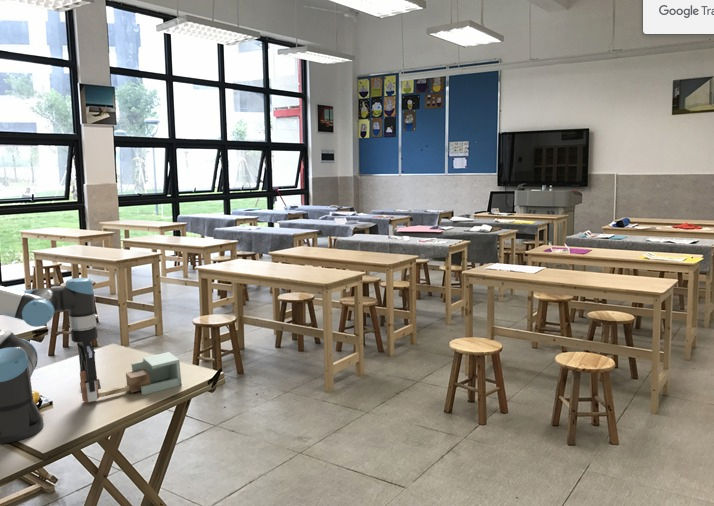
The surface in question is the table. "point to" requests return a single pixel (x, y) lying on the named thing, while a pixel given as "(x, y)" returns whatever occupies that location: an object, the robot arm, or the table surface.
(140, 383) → the towed block
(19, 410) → the robot arm
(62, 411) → the table surface
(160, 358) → the shelf lane
